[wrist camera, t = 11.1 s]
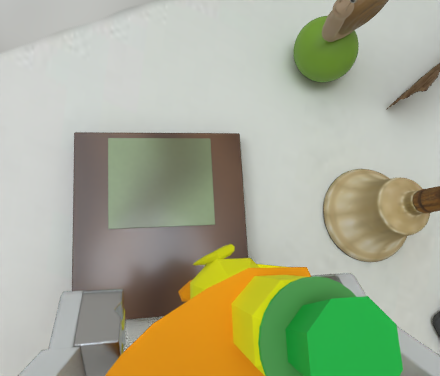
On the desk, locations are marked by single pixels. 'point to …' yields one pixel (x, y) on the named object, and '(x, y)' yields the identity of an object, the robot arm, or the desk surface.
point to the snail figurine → (333, 40)
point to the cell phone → (437, 323)
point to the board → (153, 212)
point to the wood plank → (421, 83)
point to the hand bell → (376, 213)
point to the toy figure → (264, 327)
